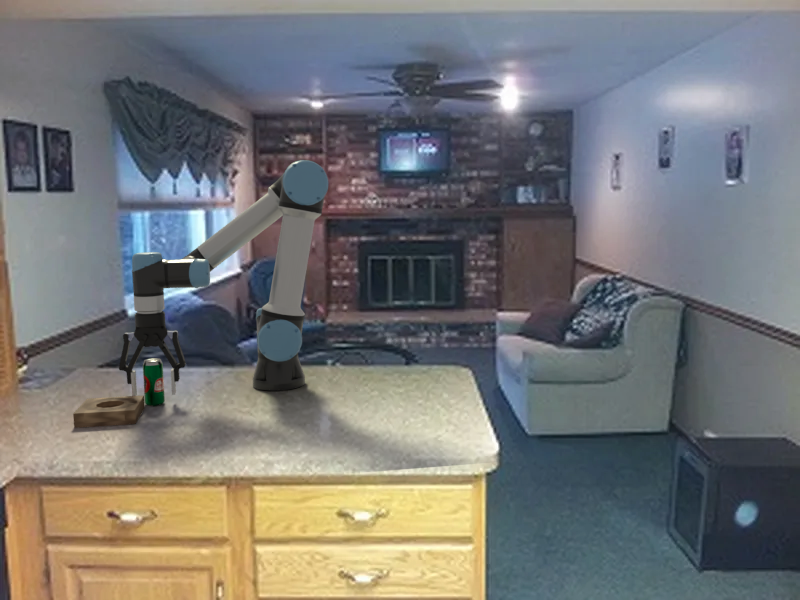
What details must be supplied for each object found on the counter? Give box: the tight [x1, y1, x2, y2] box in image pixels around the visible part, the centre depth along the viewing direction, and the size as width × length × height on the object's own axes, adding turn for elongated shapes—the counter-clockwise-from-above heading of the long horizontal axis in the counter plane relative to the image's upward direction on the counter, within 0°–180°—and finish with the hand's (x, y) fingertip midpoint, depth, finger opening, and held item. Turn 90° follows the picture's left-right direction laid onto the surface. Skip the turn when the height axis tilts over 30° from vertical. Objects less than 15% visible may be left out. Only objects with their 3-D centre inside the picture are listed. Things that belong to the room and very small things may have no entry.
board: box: [72, 395, 146, 429], centre depth 183 cm, size 14×14×4 cm
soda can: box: [142, 357, 166, 407], centre depth 195 cm, size 5×5×12 cm
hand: (154, 394), depth 195 cm, fingers open, 9 cm apart
